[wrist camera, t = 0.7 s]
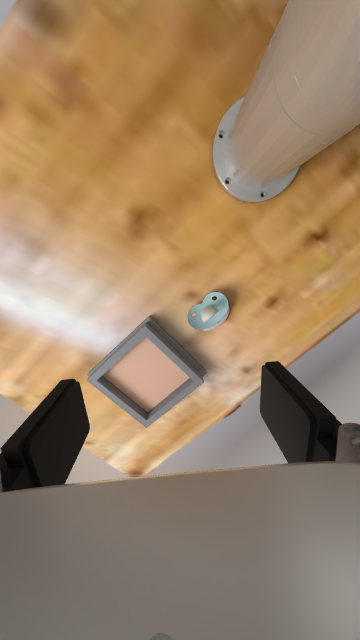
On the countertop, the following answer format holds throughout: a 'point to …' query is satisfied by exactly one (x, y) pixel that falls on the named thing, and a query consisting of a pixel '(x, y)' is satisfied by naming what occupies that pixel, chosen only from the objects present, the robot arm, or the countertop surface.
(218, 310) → the pacifier
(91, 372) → the holder
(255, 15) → the countertop surface
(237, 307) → the countertop surface
